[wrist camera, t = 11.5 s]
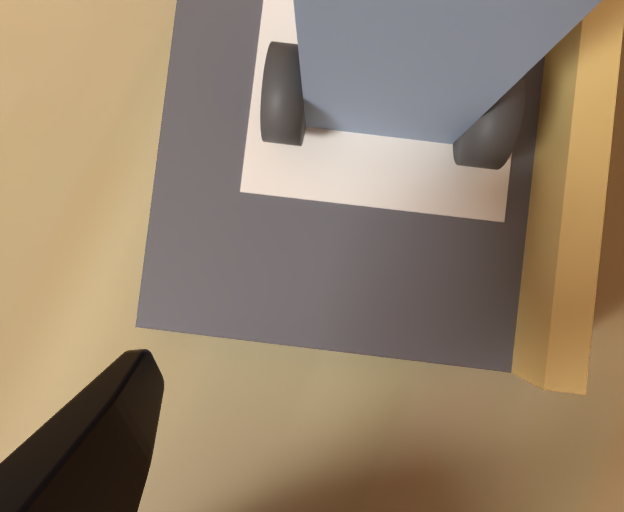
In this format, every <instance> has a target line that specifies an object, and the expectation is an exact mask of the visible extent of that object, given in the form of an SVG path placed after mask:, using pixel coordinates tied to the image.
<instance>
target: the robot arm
mask: <svg viewBox="0 0 624 512" xmlns="http://www.w3.org/2000/svg"><path fill="white" fill-rule="evenodd" d="M163 392H164V380H163V376H162V374H161V372H160V370H159V368H158V366H157V364H156V362H155V360H154V358H153V356H152V354H151V352H150V351H149V350H147V349H138V350H128V351H126V352H124V353H123V354H122V355H121V356H120V357H119V358H117V359H116V360H115V361H114V362H113V363H112V364H111V365H110V366H108V367H107V368H106V369H105V370H104V371H103V372H102V373H101V374H100V375H98V376H97V377H96V378H95V379H94V380H93V381H92V382H91V383H90V384H88V385H87V386H86V387H85V388H84V389H83V390H82V391H81V392H79V393H78V394H77V395H76V396H75V397H74V398H73V399H72V400H71V401H69V402H68V403H67V404H66V405H65V406H64V407H63V408H62V409H60V410H59V411H58V412H57V413H56V414H55V415H54V416H53V417H52V418H50V419H49V420H48V421H47V422H46V423H45V424H44V425H43V426H42V427H40V428H39V429H38V430H37V431H36V432H35V433H34V434H33V435H31V436H30V437H29V438H28V439H27V440H26V441H25V442H24V443H23V444H21V445H20V446H19V447H18V448H17V449H16V450H15V451H14V452H12V453H11V454H10V455H9V456H8V457H7V458H6V459H5V460H4V461H2V462H1V463H0V512H137V511H138V507H139V504H140V500H141V497H142V493H143V490H144V486H145V483H146V479H147V476H148V472H149V468H150V464H151V459H152V455H153V449H154V444H155V438H156V432H157V426H158V421H159V415H160V409H161V403H162V398H163Z"/></svg>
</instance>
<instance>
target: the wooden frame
mask: <svg viewBox="0 0 624 512" xmlns="http://www.w3.org/2000/svg"><path fill="white" fill-rule="evenodd" d="M623 27H624V0H602V1H601V2H600V3H599V4H598V5H597V6H596V7H595V8H594V9H593V10H592V11H591V12H590V13H588V14H587V15H586V16H585V17H584V18H583V19H582V20H581V21H580V22H579V23H578V24H577V25H576V26H575V27H574V28H573V29H572V30H571V31H570V32H569V33H568V34H567V35H566V36H565V37H563V38H562V39H561V40H560V41H559V42H558V43H557V44H556V45H555V46H554V47H553V48H552V49H551V50H550V51H549V52H548V53H547V54H546V55H545V56H544V57H543V58H542V59H541V60H540V61H539V62H537V63H536V64H535V65H534V66H533V67H532V68H531V69H530V70H529V71H528V72H527V73H526V74H525V75H524V80H525V107H524V113H523V119H522V123H521V128H520V131H519V135H518V138H517V141H516V144H515V146H514V149H513V151H512V153H511V155H510V157H509V159H508V160H507V162H506V163H505V165H504V166H503V167H502V168H500V169H498V170H494V169H485V168H477V167H469V166H460V165H457V164H456V163H455V161H454V157H453V144H445V143H437V142H428V141H420V140H412V139H403V138H395V137H387V136H378V135H370V134H361V133H353V132H345V131H336V130H328V129H320V128H311V127H306V129H305V135H304V140H303V144H302V146H294V145H286V144H278V143H269V142H263V140H262V137H261V129H260V105H261V90H262V80H263V72H264V65H265V59H266V55H267V51H268V47H269V44H270V43H271V41H275V42H283V43H292V44H298V42H297V32H296V22H295V12H294V2H293V0H177V5H176V12H175V20H174V28H173V36H172V44H171V52H170V60H169V67H168V75H167V83H166V91H165V99H164V107H163V115H162V123H161V130H160V138H159V146H158V154H157V162H156V170H155V178H154V185H153V193H152V201H151V209H150V217H149V225H148V233H147V241H146V248H145V256H144V264H143V272H142V280H141V288H140V296H139V303H138V311H137V319H136V327H139V328H147V329H156V330H164V331H172V332H180V333H189V334H197V335H205V336H213V337H222V338H230V339H238V340H246V341H255V342H263V343H271V344H279V345H288V346H296V347H304V348H313V349H321V350H329V351H337V352H346V353H354V354H362V355H370V356H379V357H387V358H395V359H403V360H412V361H420V362H428V363H436V364H445V365H453V366H461V367H469V368H478V369H486V370H494V371H502V372H511V373H513V374H515V375H517V376H519V377H520V378H522V379H524V380H526V381H528V382H530V383H532V384H534V385H536V386H537V387H539V388H541V389H543V390H549V391H557V392H565V393H573V394H582V395H586V387H587V377H588V368H589V358H590V348H591V339H592V329H593V319H594V309H595V300H596V290H597V280H598V270H599V261H600V251H601V241H602V231H603V222H604V212H605V202H606V192H607V183H608V173H609V163H610V153H611V144H612V134H613V124H614V114H615V105H616V95H617V85H618V75H619V66H620V56H621V46H622V37H623Z"/></svg>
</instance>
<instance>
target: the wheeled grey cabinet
mask: <svg viewBox="0 0 624 512" xmlns="http://www.w3.org/2000/svg"><path fill="white" fill-rule="evenodd" d="M601 1H602V0H293V2H294V12H295V22H296V32H297V42H298V44H292V43H283V42H275V41H271V43H270V44H269V47H268V51H267V55H266V59H265V65H264V72H263V80H262V90H261V105H260V129H261V137H262V140H263V142H269V143H278V144H286V145H294V146H302V144H303V140H304V135H305V129H306V127H311V128H320V129H328V130H336V131H345V132H353V133H361V134H370V135H378V136H387V137H395V138H403V139H412V140H420V141H428V142H437V143H445V144H453V157H454V161H455V163H456V164H457V165H460V166H469V167H477V168H485V169H494V170H498V169H500V168H502V167H503V166H504V165H505V163H506V162H507V160H508V159H509V157H510V155H511V153H512V151H513V149H514V146H515V144H516V141H517V138H518V135H519V131H520V128H521V123H522V119H523V113H524V107H525V80H524V75H525V74H526V73H527V72H528V71H529V70H530V69H531V68H532V67H533V66H534V65H535V64H536V63H537V62H539V61H540V60H541V59H542V58H543V57H544V56H545V55H546V54H547V53H548V52H549V51H550V50H551V49H552V48H553V47H554V46H555V45H556V44H557V43H558V42H559V41H560V40H561V39H562V38H563V37H565V36H566V35H567V34H568V33H569V32H570V31H571V30H572V29H573V28H574V27H575V26H576V25H577V24H578V23H579V22H580V21H581V20H582V19H583V18H584V17H585V16H586V15H587V14H588V13H590V12H591V11H592V10H593V9H594V8H595V7H596V6H597V5H598V4H599V3H600V2H601Z"/></svg>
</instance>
